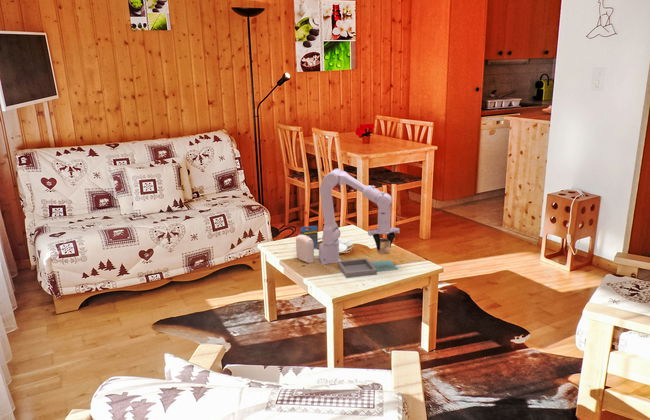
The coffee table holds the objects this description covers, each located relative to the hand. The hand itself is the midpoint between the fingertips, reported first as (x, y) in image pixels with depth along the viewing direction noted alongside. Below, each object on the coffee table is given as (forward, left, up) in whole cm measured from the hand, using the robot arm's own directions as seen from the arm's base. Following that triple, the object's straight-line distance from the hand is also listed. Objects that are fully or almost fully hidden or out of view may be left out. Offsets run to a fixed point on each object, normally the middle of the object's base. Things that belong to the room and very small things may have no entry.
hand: (383, 248), depth 235 cm
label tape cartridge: (-28, +33, -9) cm, 44 cm away
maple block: (0, 0, -2) cm, 2 cm away
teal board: (0, 0, -9) cm, 9 cm away
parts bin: (-13, -1, -9) cm, 16 cm away
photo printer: (-33, +18, -9) cm, 39 cm away
